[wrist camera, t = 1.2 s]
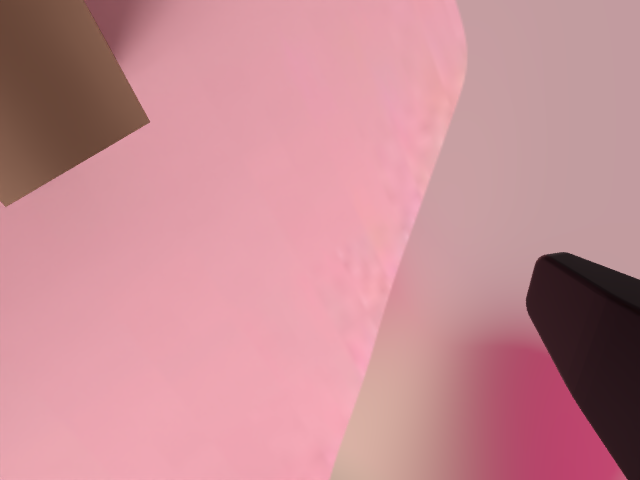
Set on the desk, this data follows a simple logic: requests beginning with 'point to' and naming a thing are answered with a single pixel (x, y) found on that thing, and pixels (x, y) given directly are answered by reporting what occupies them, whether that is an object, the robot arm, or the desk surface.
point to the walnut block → (56, 93)
